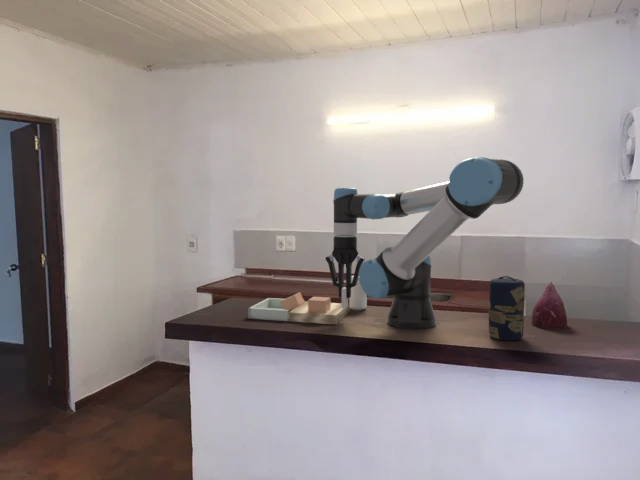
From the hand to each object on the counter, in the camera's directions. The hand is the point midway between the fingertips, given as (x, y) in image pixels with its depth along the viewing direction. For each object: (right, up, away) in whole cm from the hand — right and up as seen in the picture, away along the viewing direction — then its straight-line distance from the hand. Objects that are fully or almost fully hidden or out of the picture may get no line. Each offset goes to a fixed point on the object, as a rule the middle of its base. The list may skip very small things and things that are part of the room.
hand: (344, 307), depth 170 cm
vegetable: (+64, -5, -6) cm, 65 cm away
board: (-8, -4, +7) cm, 11 cm away
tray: (-23, -4, +11) cm, 26 cm away
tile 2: (-17, -2, +13) cm, 21 cm away
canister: (+45, -6, -20) cm, 50 cm away
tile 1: (-8, -1, +2) cm, 9 cm away
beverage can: (+6, -3, +18) cm, 19 cm away
